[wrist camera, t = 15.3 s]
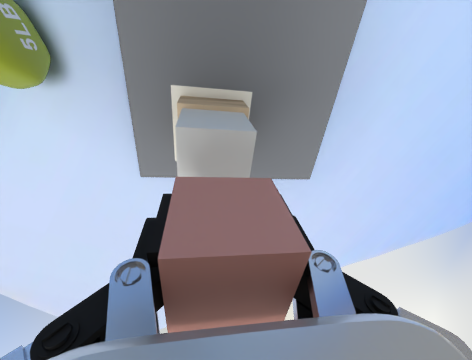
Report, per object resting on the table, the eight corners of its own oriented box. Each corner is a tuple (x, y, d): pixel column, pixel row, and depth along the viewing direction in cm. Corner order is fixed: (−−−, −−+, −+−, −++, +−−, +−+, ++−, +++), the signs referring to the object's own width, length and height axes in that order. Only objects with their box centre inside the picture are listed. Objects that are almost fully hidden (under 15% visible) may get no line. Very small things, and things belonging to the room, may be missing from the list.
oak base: (180, 95, 23) (176, 102, 20) (242, 100, 24) (249, 108, 21) (182, 154, 27) (179, 168, 23) (236, 155, 28) (241, 170, 24)
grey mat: (104, -64, 17) (102, -67, 16) (368, -14, 21) (372, -15, 20) (141, 175, 28) (140, 177, 27) (308, 177, 32) (309, 179, 31)
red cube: (175, 176, 10) (157, 259, 6) (270, 178, 11) (311, 252, 7) (179, 246, 13) (168, 338, 9) (257, 243, 14) (281, 326, 10)
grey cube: (182, 108, 20) (175, 126, 15) (243, 112, 21) (257, 131, 16) (183, 164, 23) (178, 195, 18) (237, 165, 24) (246, 196, 19)
